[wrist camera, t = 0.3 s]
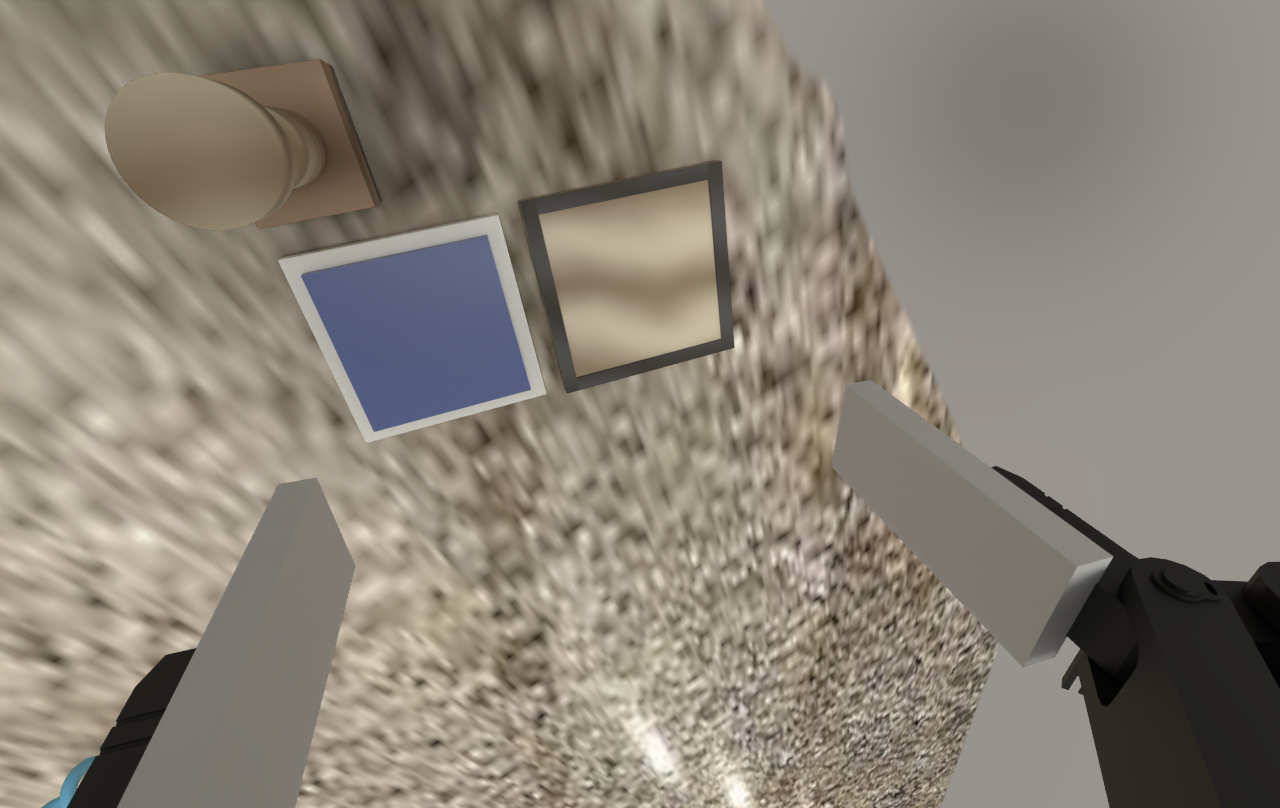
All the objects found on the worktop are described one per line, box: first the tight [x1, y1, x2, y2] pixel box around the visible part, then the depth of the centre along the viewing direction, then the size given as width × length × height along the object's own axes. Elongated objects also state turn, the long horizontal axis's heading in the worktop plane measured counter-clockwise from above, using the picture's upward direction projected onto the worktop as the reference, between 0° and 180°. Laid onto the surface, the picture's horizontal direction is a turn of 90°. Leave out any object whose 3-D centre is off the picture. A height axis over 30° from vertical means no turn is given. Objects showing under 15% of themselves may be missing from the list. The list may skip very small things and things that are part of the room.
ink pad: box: [278, 213, 546, 443], centre depth 36 cm, size 13×13×2 cm
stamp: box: [105, 59, 382, 231], centre depth 24 cm, size 7×6×14 cm
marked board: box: [518, 161, 734, 393], centre depth 39 cm, size 14×14×1 cm
